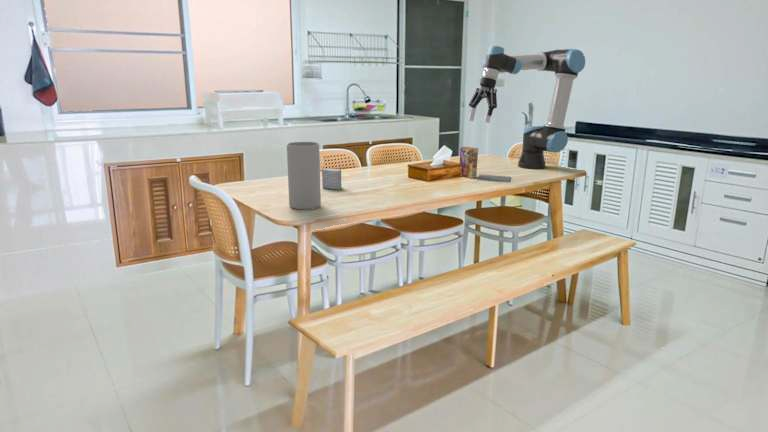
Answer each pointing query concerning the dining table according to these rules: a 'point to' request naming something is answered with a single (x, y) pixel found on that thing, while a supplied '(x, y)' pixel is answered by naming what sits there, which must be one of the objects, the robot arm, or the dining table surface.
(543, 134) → the robot arm
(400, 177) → the dining table surface
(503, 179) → the slate mat
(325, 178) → the medicine box
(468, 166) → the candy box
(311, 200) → the cylinder vase
